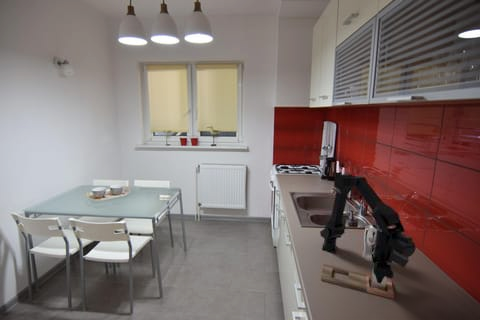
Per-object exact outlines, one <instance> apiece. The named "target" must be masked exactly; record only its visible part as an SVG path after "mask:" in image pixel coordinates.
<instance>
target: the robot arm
mask: <svg viewBox="0 0 480 320" xmlns="http://www.w3.org/2000/svg"><path fill="white" fill-rule="evenodd" d="M333 186H334V187H333V188H334V189H335V191H336V192H335V197H334V202H333V206H332V212H331V215H330V219H328V221H326V224H325V227H324V228H323V229H322V230H320V231H319V233H320V237H321V238H323V239H324V240H323V243H322V247H321V250H322V251H326V252H327V251H328V252H331V253H337V249H338V246H337V240H338V239H339V238H341V237H342V236H343V235H344V234H345V233H346V232H345V231H346V225H345V224H344V223H343V218H344V214H345V213H344V212H345V208H346V204H347V199H348V195H349V193H350V192H351V191H352V190H354V187H355V188H356V190H357V191H358V193H359V195H360V196H361V197H362V198H363V199H364V201H365V202H366V204H367V205H368V206H369V208H370V209H371V216H372V218H373V219H374V221H375V223H374V224H371V225H372V226H373V227H374V228H376V229H377V233H376V240H375V242H374V243H375V244H373V245H372V246H371V252H373V254H372V260H373V262H372V264H373V265H372V270H373V273H374V274H375V276H376V279H377V282H378V283H381V282H382V280H383V279H384V277H387V278H388V279H389V278H390V279H393V278H394V269H393V267H392V265H391V264H392V263H395V264H397V265H398V266H400V267H402V268H406V266H407V264H408V263H409V262H410V260H409V257H411V256H412V255H413V254H414V253H415V251H416V248H417V247H416V243H415V242H414V241H413V237H411V236H409V235H406V234H404V233H405V228H404V225H403V224H402V222H401V219H400V215H399V214H398V212H397V211H396V210H394V209H395V208H393V207H391V206H390V205H388V204H386V203H385V202H384V201H382V199H381V197H380V196H379V195H378V193H376V191H375V190H374V189H373V188H372V186H371V185H370V183H369V182H368V180H367V178H366V177H365V176H358V175H353V174H352V173H343V174H342V173H341V174H337V175H335V177H334V183H333ZM394 226H395V227H394ZM390 227H392V228H390ZM388 263H390V264H388Z"/></svg>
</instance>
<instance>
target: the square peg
mask: <svg viewBox="0 0 480 320" xmlns="http://www.w3.org/2000/svg"><path fill="white" fill-rule="evenodd" d="M371 270H372V271H371V275H372V278H371V280H370V283H371V284H370V285H371V286H370V287H372V288H376V289H380V290H384V291H386V287H387V286H386V279H388V277H384V279H383V280H382V282H381V283H378V282H377V279H376V276H375V274H374V273H373V269H371Z"/></svg>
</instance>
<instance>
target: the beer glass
mask: <svg viewBox="0 0 480 320" xmlns="http://www.w3.org/2000/svg"><path fill="white" fill-rule="evenodd" d="M372 225H373V224H369V225H365V229H364V233H363V245H364V246H363V247H364V249H363V253H362V258H363V259H364V260H366V261H369V262H372V263H373V260H372V254H373V252H371V246H372V245H373V244H375V243H374V242H375V240H376V233H377V229H376V228H374V227H373V226H372Z"/></svg>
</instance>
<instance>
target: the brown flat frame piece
mask: <svg viewBox="0 0 480 320" xmlns="http://www.w3.org/2000/svg"><path fill="white" fill-rule="evenodd" d="M333 272H336V273H338V274H339V273H340V274H343V275H347V276H348V278H347V281H346V280H344V279H339V278H337V277H333V276H332V275H333ZM371 278H372V274H368V273H365V272H360V271H355V270H350V269H346V268H341V267H338V266H334V265H329V264H325V263H324V264H323V266H322V272H321V277H320V280H321V281H324V282H327V283H331V284H335V285H339V286H342V287H347V288H350V289H354V290H358V291H362V292H366V293H369V294H373V295H377V296H382V297H385V298H388V299H393V300H394V299H395V293H394V289H393V283H392V279H389V278H387V279H386V286H385V287H386V290H385V291H384V290H380V289H376V288H372V287H371V286H370V281H371Z"/></svg>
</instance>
